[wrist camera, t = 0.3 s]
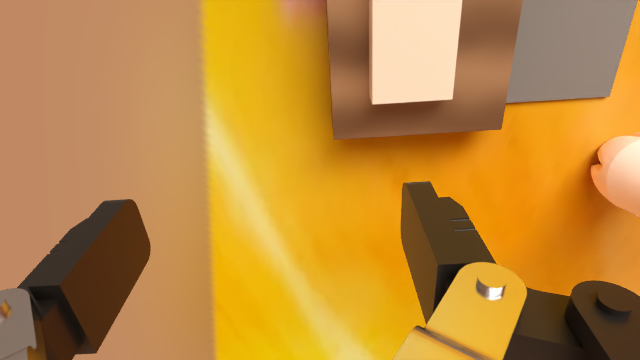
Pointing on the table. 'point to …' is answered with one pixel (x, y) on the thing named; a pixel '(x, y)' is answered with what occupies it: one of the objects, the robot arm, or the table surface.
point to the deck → (425, 116)
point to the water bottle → (620, 172)
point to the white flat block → (412, 49)
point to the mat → (568, 48)
